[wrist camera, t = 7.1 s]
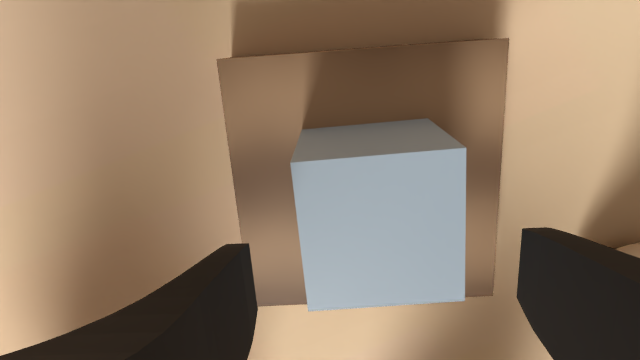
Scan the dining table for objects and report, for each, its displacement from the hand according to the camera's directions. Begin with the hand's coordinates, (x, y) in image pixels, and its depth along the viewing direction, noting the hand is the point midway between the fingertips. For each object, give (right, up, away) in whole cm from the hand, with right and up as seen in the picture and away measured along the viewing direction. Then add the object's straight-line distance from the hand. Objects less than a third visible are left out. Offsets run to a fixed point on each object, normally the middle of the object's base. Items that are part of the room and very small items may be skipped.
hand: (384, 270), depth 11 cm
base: (0, +3, +9) cm, 9 cm away
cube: (0, +2, +6) cm, 7 cm away
